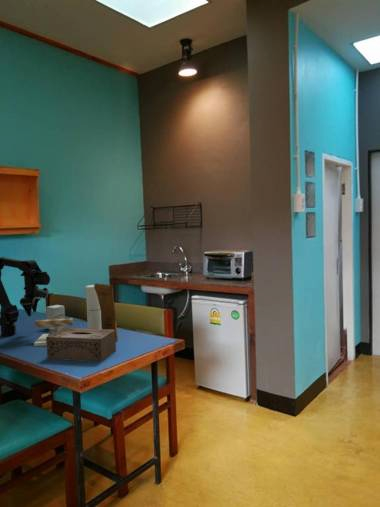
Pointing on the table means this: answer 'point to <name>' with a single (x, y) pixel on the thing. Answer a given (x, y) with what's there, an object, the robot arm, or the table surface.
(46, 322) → the oak bar
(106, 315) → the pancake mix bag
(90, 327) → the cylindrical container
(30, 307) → the robot arm
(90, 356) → the tissue box cover
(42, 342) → the fulcrum stand
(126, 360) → the table surface
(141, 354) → the table surface
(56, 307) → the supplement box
